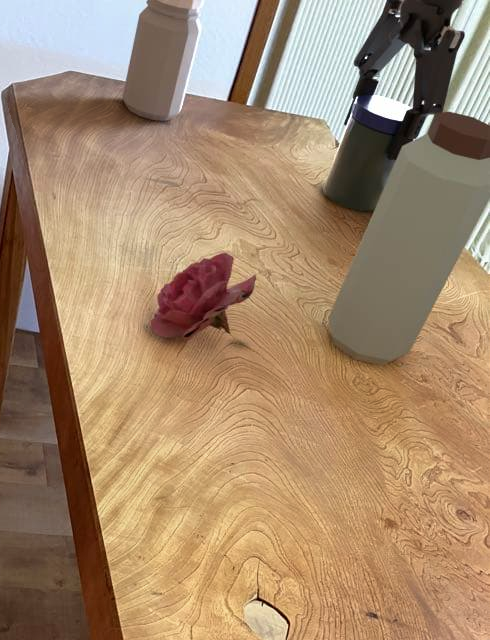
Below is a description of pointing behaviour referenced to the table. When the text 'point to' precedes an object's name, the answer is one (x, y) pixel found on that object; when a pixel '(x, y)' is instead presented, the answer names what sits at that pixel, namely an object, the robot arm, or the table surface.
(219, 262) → the flower
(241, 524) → the table surface
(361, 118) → the lid
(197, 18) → the jar
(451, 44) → the robot arm
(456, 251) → the water bottle
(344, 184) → the spice jar
